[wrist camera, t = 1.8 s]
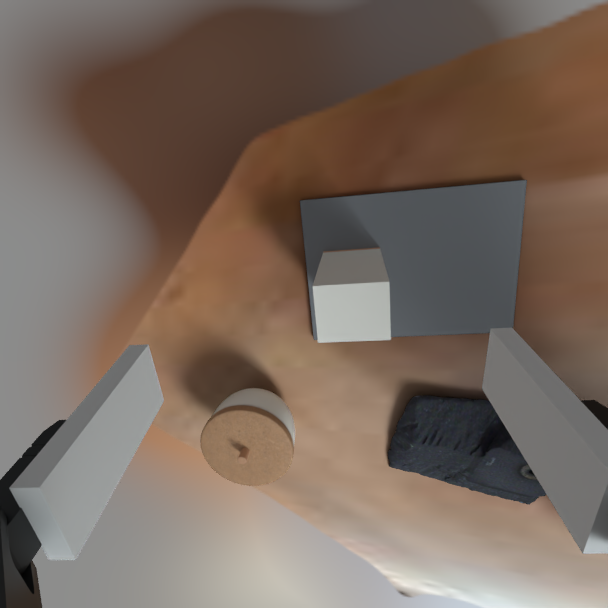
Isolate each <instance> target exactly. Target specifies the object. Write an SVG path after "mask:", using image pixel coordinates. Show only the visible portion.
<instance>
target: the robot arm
mask: <svg viewBox="0 0 608 608" xmlns="http://www.w3.org/2000/svg"><path fill="white" fill-rule="evenodd" d="M482 390H483V391H484V393H485V394H486V396H487V398H488V399H489V401H490V403H491V404H492V406H493V408H494V409H495V411H496V412H497V414H498V416H499V417H500V419H501V421H502V422H503V424H504V426H505V427H506V429H507V430H508V432H509V434H510V435H511V437H512V439H513V440H514V442H515V444H516V445H517V447H518V448H519V450H520V452H521V453H522V455H523V457H524V458H525V460H526V461H527V463H528V465H529V466H530V468H531V470H532V471H533V473H534V475H535V476H536V478H537V479H538V481H539V483H540V484H541V486H542V488H543V489H544V491H545V493H546V494H547V496H548V497H549V499H550V501H551V502H552V504H553V506H554V507H555V509H556V511H557V512H558V514H559V515H560V517H561V519H562V520H563V522H564V524H565V525H566V527H567V529H568V530H569V532H570V533H571V535H572V537H573V538H574V540H575V542H576V543H577V545H578V546H579V548H580V550H581V551H582V553H583V554H589V553H608V408H606V407H605V406H603V405H601V404H600V403H598V402H596V401H595V400H585V401H580V400H579V399H578V398H577V396H576V395H575V394H574V393H573V392H572V391H571V390H570V389H569V388H568V387H567V386H566V385H565V384H564V383H563V382H562V380H561V379H560V378H559V377H558V376H557V375H556V374H555V373H554V372H553V371H552V370H551V369H550V368H549V367H548V366H547V364H546V363H545V362H544V361H543V360H542V359H541V358H540V357H539V356H538V355H537V354H536V353H535V352H534V351H533V350H532V348H531V347H530V346H529V345H528V344H527V343H526V342H525V341H524V340H523V339H522V338H521V337H520V336H519V335H518V334H517V333H516V331H515V330H514V329H513V328H491V330H490V336H489V343H488V350H487V357H486V364H485V371H484V378H483V385H482ZM163 402H164V399H163V395H162V391H161V388H160V384H159V381H158V377H157V373H156V370H155V366H154V363H153V359H152V355H151V352H150V348H149V345H129V347H128V348H127V349H126V350H125V351H124V353H123V354H122V355H121V356H120V357H119V359H118V360H117V361H116V362H115V363H114V364H113V366H112V367H111V368H110V369H109V370H108V372H107V373H106V374H105V375H104V376H103V377H102V379H101V380H100V381H99V382H98V383H97V385H96V386H95V387H94V388H93V389H92V391H91V392H90V393H89V394H88V395H87V396H86V398H85V399H84V400H83V401H82V402H81V404H80V405H79V406H78V407H77V408H76V410H75V411H74V412H73V413H72V415H70V417H69V418H68V419H67V420H59V421H57V422H56V423H55V424H53V425H52V426H50V427H49V428H48V429H46V430H45V431H44V432H43V433H42V434H41V435H40V436H39V437H38V438H37V439H36V440H35V441H34V443H33V444H32V447H29V448H28V449H27V450H26V452H25V453H24V454H23V456H22V458H19V460H18V461H17V462H16V463H15V464H14V465H13V466H12V468H10V470H9V471H8V472H7V473H6V474H5V475H4V476H3V477H2V479H1V480H0V608H42V603H41V596H40V590H39V583H38V577H37V570H36V567H35V565H34V563H33V561H32V559H33V558H34V556H35V555H36V553H37V551H38V550H39V549H40V547H42V549H43V551H44V552H45V554H46V556H47V558H48V559H49V560H76V559H77V557H78V555H79V553H80V551H81V550H82V548H83V546H84V545H85V543H86V541H87V539H88V537H89V535H90V534H91V532H92V530H93V528H94V526H95V525H96V523H97V521H98V519H99V517H100V516H101V514H102V512H103V510H104V508H105V506H106V504H107V503H108V501H109V499H110V497H111V495H112V494H113V492H114V490H115V488H116V486H117V485H118V483H119V481H120V479H121V478H122V476H123V474H124V472H125V470H126V469H127V466H128V465H129V463H130V461H131V460H132V458H133V456H134V454H135V452H136V450H137V449H138V447H139V445H140V443H141V441H142V440H143V438H144V436H145V434H146V432H147V431H148V429H149V427H150V425H151V423H152V422H153V420H154V418H155V416H156V414H157V413H158V411H159V409H160V407H161V405H162V403H163Z"/></svg>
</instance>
